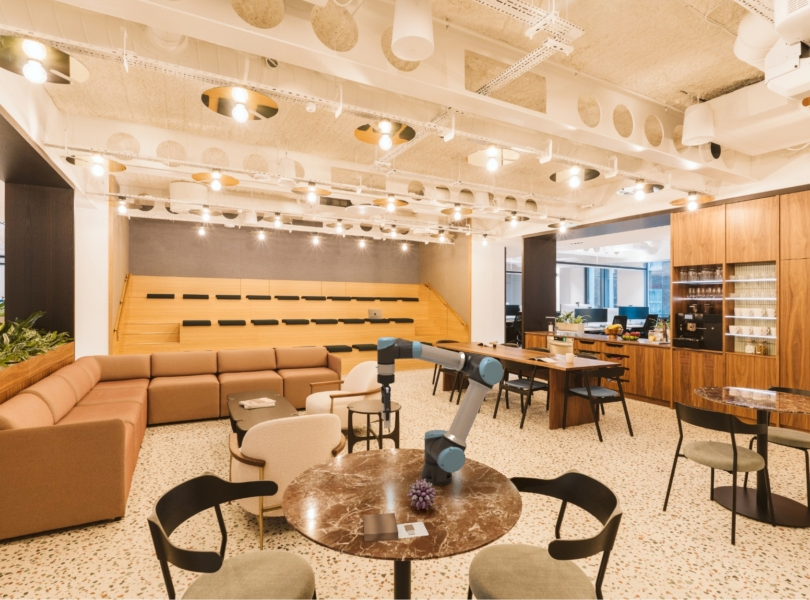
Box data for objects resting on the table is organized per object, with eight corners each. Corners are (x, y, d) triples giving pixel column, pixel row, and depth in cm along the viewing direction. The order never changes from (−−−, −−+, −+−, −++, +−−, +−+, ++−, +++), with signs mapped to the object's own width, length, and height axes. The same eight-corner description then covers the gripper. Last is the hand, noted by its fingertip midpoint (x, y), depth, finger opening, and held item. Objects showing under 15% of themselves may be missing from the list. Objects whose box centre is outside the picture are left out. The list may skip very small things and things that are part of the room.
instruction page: (422, 522, 158) (422, 521, 158) (428, 535, 149) (428, 534, 149) (391, 525, 155) (391, 524, 155) (396, 539, 147) (396, 538, 147)
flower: (439, 515, 163) (439, 485, 163) (409, 517, 161) (409, 487, 161) (432, 500, 175) (432, 472, 175) (405, 503, 173) (405, 474, 173)
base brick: (394, 520, 159) (394, 512, 159) (398, 540, 146) (398, 532, 146) (363, 522, 158) (363, 514, 157) (364, 542, 145) (364, 534, 145)
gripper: (375, 368, 188) (375, 414, 188) (379, 379, 163) (379, 432, 163) (391, 368, 189) (391, 414, 189) (397, 379, 164) (397, 432, 164)
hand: (385, 423), depth 176 cm, fingers open, 13 cm apart
